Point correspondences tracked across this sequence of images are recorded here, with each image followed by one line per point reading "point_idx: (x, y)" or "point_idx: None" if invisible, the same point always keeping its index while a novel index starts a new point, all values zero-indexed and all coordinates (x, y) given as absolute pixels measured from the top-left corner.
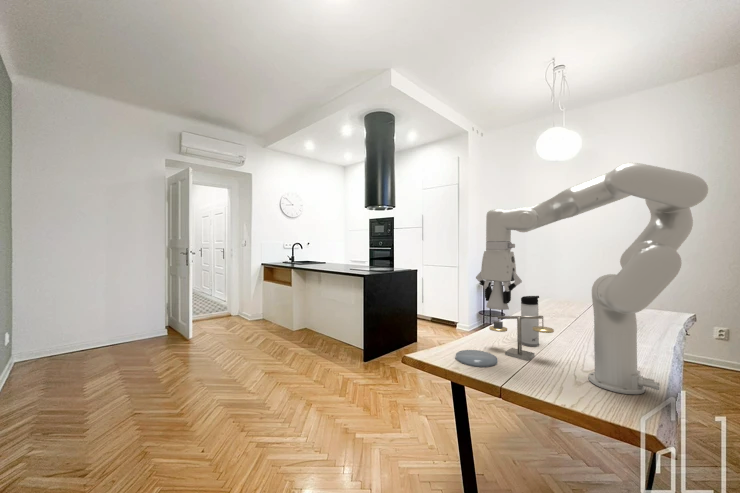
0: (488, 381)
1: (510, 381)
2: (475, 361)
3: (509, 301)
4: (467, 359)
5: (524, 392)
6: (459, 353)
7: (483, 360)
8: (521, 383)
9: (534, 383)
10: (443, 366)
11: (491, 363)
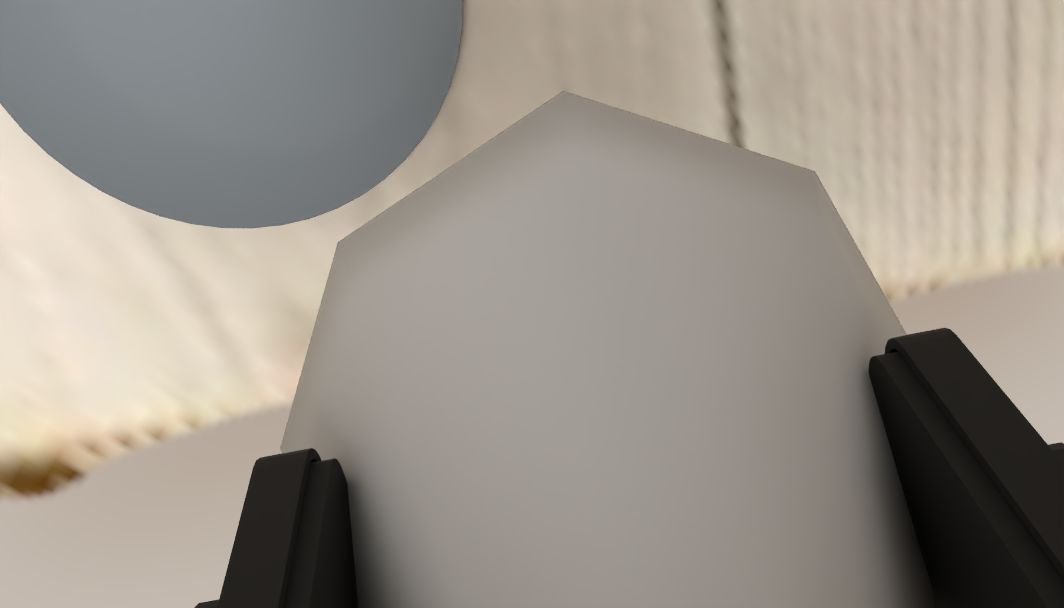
0: None
1: None
2: (325, 136)
3: (956, 340)
4: (238, 163)
5: (930, 260)
6: (32, 90)
7: (349, 36)
8: (854, 138)
9: (939, 41)
10: (218, 396)
11: (460, 38)
